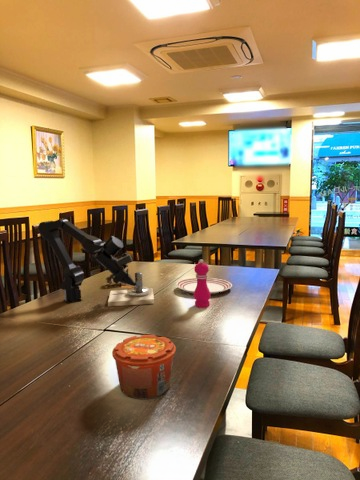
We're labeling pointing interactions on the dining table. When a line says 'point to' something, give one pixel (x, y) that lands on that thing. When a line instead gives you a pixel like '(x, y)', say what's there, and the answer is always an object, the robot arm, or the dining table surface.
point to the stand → (129, 298)
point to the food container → (144, 365)
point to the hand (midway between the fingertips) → (134, 285)
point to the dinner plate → (212, 284)
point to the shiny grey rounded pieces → (137, 287)
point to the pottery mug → (112, 278)
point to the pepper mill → (202, 285)
